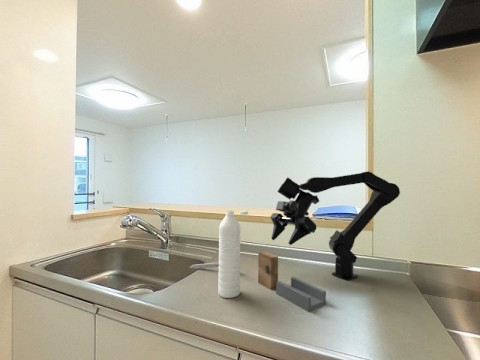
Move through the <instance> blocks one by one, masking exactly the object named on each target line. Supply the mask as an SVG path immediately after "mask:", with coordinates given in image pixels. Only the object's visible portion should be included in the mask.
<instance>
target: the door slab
mask: <svg viewBox="0 0 480 360" xmlns="http://www.w3.org/2000/svg"><path fill="white" fill-rule="evenodd" d="M257 254H258V256H257V257H258V260H257V261H258V262H257V263H258V266H257V267H258V270H257V283H258V284H260V285H261V286H263V287H265V288H267V289H268V290H270V291H271V290H275V289H276V285H277V282H278V281H279V256H278V255H275V254H273V253H270V252H268V251H260V252H258V253H257Z"/></svg>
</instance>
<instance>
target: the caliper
mask: <svg viewBox="0 0 480 360" xmlns="http://www.w3.org/2000/svg"><path fill="white" fill-rule="evenodd" d="M209 268H219V261H218V262H210V263H207V262H206V263H199V264H197V263H196V264H192V265H191V266H189V269H195V270H197V269H198V270H200V269H209Z"/></svg>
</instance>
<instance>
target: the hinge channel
mask: <svg viewBox="0 0 480 360" xmlns="http://www.w3.org/2000/svg"><path fill="white" fill-rule="evenodd" d="M275 291H276V295H278V296H280V297H282V298H283V299H285V300H287V301H289V302H291V303H292V304H294V305H296V306H297V307H299V308H301V309H302V310H304V311H306V312H310V311H313V310H315V309H318V308H319V307H321V306H324V305H326V303H327V302H326V301H327V299H326V298H327V293H326V290H323V289H322V288H320V287H317V286H315V285H313V284H310V283H309V282H307V281H304V280H301V279H299V278H297V277H295V276H293V277H290V285H289V284H286V283H284V282H282V281H281V280H278V282H277V285H276V290H275Z"/></svg>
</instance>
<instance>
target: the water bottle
mask: <svg viewBox="0 0 480 360" xmlns="http://www.w3.org/2000/svg"><path fill="white" fill-rule="evenodd" d="M225 211H226V213H225V216H224V218H223V219H222V220H221V222H220V224H219V228H218V234H219V237H218V242H219V243H218V262H219V267H218V283H217V284H218V286H217V287H218V288H217V291H218V292H217V293H218V295H219V297H222V298H223V299H225V298H226V299H232V298H236V297H238V296H239V295H240V293H241V292H240V291H241V287H240V283H241V278H240V277H241V224H240V223H239V221H238V220H237V217H235V211H234V210H225ZM239 215H243V216H244V215H245V216H246V215H249V210H240V211H239Z"/></svg>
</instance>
